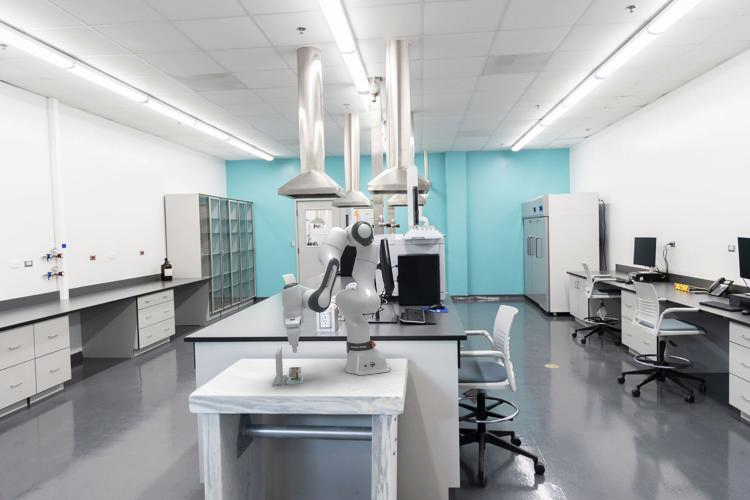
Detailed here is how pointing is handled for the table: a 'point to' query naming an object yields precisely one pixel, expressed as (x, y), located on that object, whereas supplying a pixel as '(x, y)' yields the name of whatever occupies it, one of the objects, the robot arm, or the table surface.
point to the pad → (295, 381)
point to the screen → (279, 369)
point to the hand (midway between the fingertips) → (295, 349)
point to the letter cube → (294, 374)
